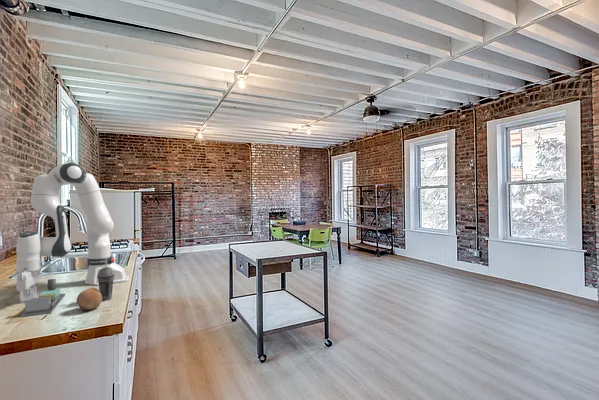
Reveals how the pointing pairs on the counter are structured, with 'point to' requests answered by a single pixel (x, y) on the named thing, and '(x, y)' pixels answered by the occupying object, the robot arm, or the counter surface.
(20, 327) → the counter surface
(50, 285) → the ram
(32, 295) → the housing
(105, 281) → the beverage cup
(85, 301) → the onion
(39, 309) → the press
